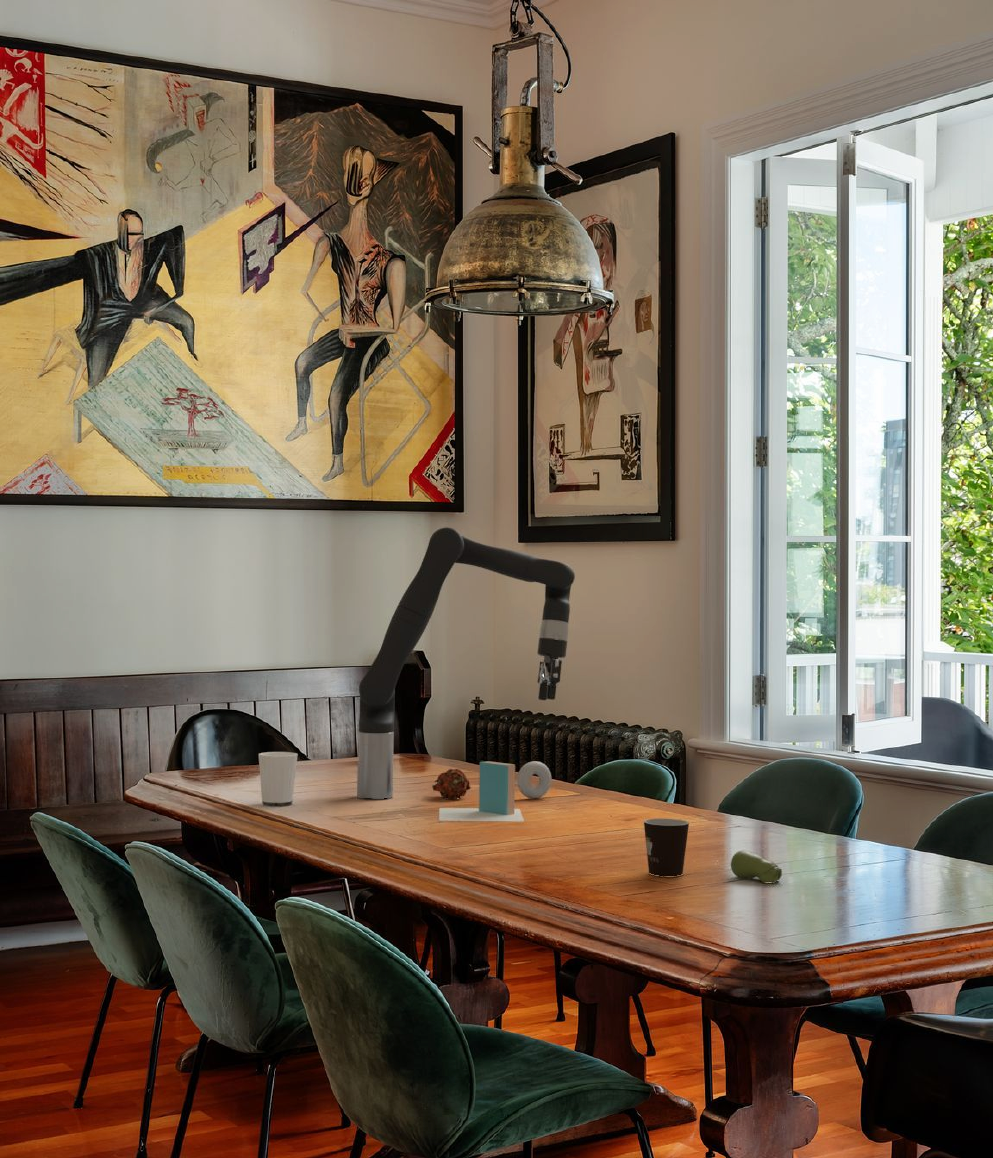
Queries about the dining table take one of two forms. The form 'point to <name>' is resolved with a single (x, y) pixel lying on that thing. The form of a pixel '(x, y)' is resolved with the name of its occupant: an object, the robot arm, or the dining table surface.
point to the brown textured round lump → (452, 784)
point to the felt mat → (476, 815)
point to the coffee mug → (666, 845)
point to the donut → (524, 779)
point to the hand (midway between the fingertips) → (546, 699)
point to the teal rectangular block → (497, 788)
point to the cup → (277, 777)
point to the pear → (754, 867)
